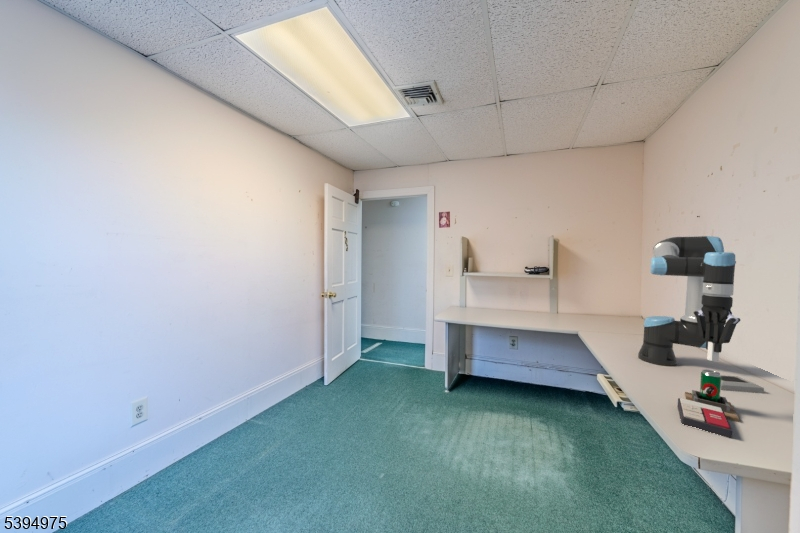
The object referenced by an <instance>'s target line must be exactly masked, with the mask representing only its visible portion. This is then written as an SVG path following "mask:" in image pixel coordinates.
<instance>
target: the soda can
mask: <svg viewBox="0 0 800 533" xmlns="http://www.w3.org/2000/svg"><path fill="white" fill-rule="evenodd" d="M720 375H721V373H720V372H718V371H716V370H711V369H702V371H701V372H700V385H699V386H700V387H699V392H700V399H704V400H708V401H712V402H717V403H720V396H721V391H722V390H721V376H720Z"/></svg>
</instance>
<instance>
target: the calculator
mask: <svg viewBox="0 0 800 533" xmlns="http://www.w3.org/2000/svg"><path fill="white" fill-rule="evenodd" d="M677 410H678V414H679V419H681V420H680V424H681V423H682V424H684V425H683V426H685V425H688V426H692V427H696V428H699V429H702V430H701V431H703V430H705V431H704V432H706V431H708V432H707V433H710V432H711V433H710V434H713V433H715V434H714V435H717V434H718V436H720V435H721V437H725V438H728V439H732V437H733V429H732V427H731V425H730V422H729V419H727V418H726V416H725V413H724V411H723V409H721V408H720V407H716V406H711V405H707V404H703V403H699V402H695V401H691V400H687V399H686V398H682V397H681V398H680V397H679V398H677ZM682 424H681V425H682ZM688 426H687V427H688ZM692 427H691V428H692ZM699 429H698V430H699Z"/></svg>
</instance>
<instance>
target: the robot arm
mask: <svg viewBox="0 0 800 533" xmlns="http://www.w3.org/2000/svg"><path fill="white" fill-rule="evenodd" d="M724 248H725V247H724V243H723V241H722V238H721V237H719V236H713V235H711V236H708V235H705V236H704V235H703V236H698V235H697V236H674V237H669V238H665V239H663V240H661V241H659V242H657V243H656V244H655V245H654V246H653V248H652V254H653V257H651V260H650V273H651V274H652V275H657V276H672V277H675V276H676V277H687V280H686V293H685V294H686V295H685V308H684V314H683V315H682V316H680V320H676V319H675V317H673V316H667V315H666V316H665V315H663V316H661V315H657V316H656V315H651V316H648V317H646V318H644V321H643V322H644V323H643V327H644V329H643V340H642V341H643V342H642V345H641V347H640V349H639V351H638V354H637V357H638V359H639V360H641V361H643V362H647V363H649V364H655V365H659V366H666V367H667V366H669V367H672V366H676V365H677V361H678V360H677V357H676V355H675V351H674V349H673V348H674V347H673V346H674V344H676V345H681V346H682V345H683V346H688V347H692V348H693V347H695V348H698V349H700V348H701V349H706V350H707V354H706V360H708V361H710V362H719V361H720V360H719V358H720V353H721V352H722V347H723V344H729V343H731V339H732V337H733V335H734V332H735V329H736V326H737V324H739V323H740V322H741V318H740V317H735V315H733V312H732V307H733V302H734V298H733V297H732V296H733V295H734V286H735V285H734V283H735V269H736V264H737V261H736V254H735V253H734V252H728V251H727V252H725V249H724Z"/></svg>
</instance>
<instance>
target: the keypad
mask: <svg viewBox="0 0 800 533" xmlns="http://www.w3.org/2000/svg"><path fill="white" fill-rule="evenodd" d="M720 376H721V391H731V392H742V393H754V392H755V394H764V393H765V388H764V386H763V387H762V386H761V385H759V384H756V383H754V382H751V381H750V380H747V379H745V378H742V377H739V376H736V375H723V374H720Z"/></svg>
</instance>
